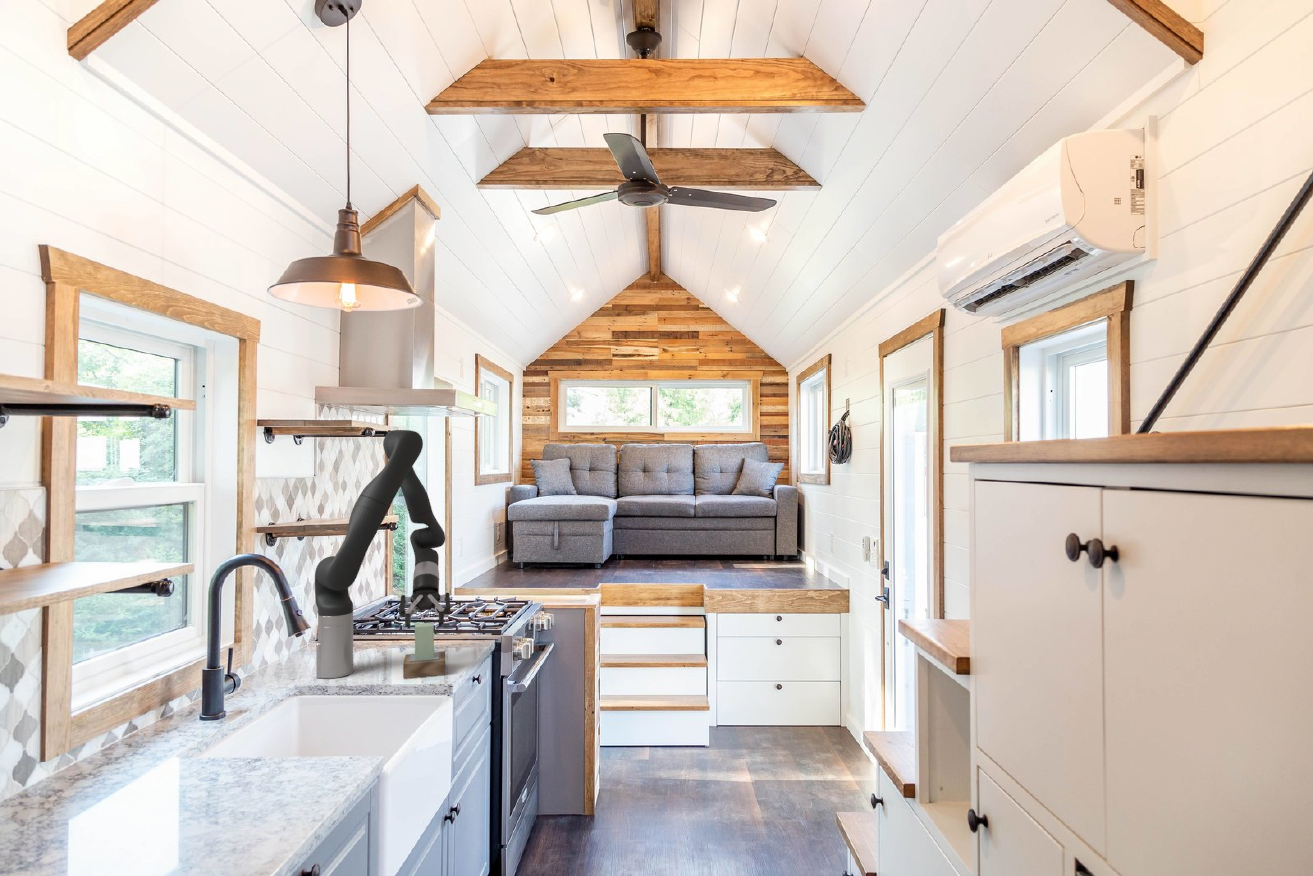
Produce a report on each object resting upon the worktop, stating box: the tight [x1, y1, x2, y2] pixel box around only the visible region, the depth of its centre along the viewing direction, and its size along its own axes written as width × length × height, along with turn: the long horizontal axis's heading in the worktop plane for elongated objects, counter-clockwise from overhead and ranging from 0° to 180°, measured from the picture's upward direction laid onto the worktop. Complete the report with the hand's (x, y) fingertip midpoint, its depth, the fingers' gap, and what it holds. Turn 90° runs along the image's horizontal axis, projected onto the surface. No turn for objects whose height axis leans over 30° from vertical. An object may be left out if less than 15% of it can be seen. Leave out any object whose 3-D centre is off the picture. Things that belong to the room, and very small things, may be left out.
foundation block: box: [402, 650, 446, 679], centre depth 204 cm, size 11×11×4 cm
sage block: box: [414, 621, 435, 660], centre depth 205 cm, size 5×5×9 cm
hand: (424, 626), depth 206 cm, fingers open, 8 cm apart
